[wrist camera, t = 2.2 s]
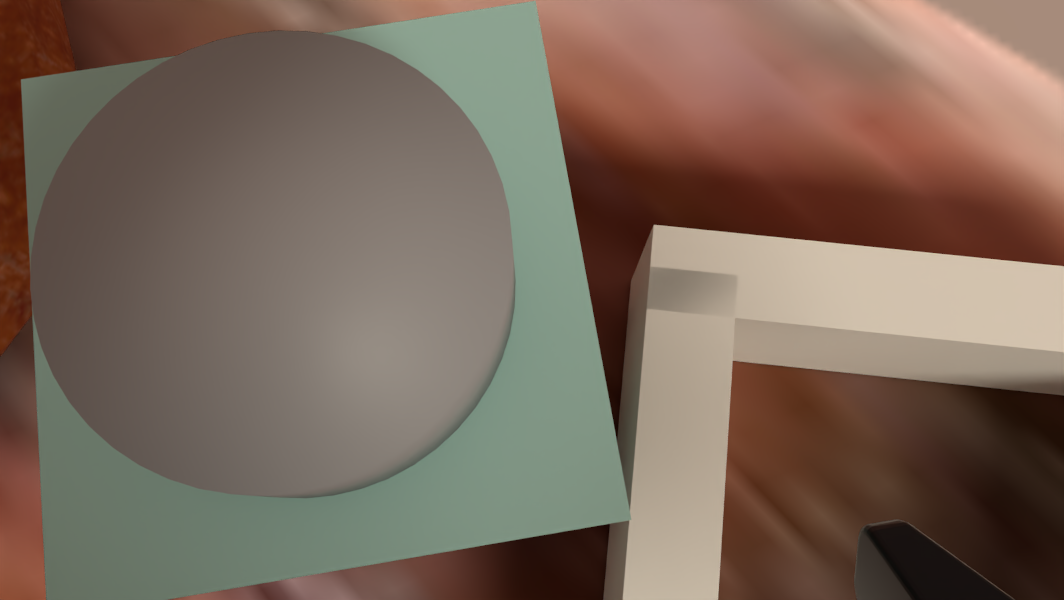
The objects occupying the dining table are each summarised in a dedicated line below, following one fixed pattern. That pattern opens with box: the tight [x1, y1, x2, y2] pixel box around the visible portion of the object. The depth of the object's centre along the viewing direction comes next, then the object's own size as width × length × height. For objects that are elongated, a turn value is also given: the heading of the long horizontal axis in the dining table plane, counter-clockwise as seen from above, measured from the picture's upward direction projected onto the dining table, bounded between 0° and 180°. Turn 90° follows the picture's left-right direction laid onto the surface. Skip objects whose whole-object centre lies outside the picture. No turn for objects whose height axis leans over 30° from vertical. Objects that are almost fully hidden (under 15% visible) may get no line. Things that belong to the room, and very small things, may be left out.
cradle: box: [603, 225, 1064, 600], centre depth 17 cm, size 10×11×4 cm
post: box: [21, 1, 631, 600], centre depth 13 cm, size 4×4×14 cm
